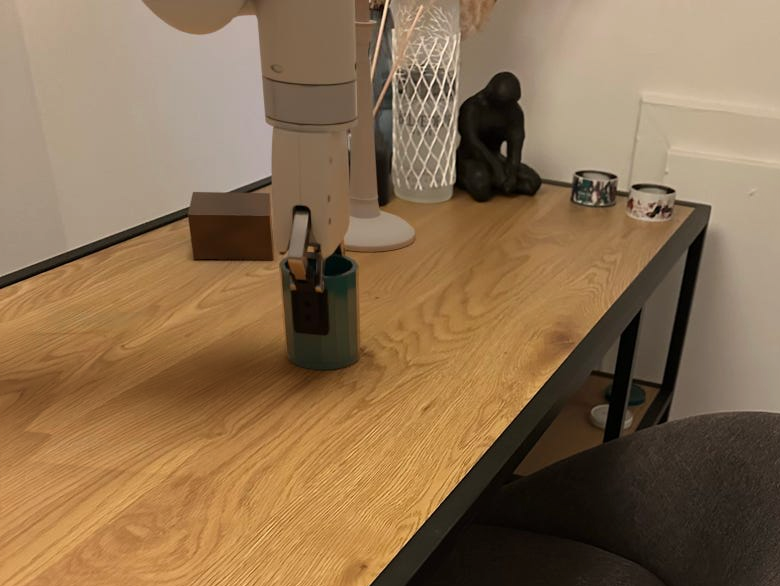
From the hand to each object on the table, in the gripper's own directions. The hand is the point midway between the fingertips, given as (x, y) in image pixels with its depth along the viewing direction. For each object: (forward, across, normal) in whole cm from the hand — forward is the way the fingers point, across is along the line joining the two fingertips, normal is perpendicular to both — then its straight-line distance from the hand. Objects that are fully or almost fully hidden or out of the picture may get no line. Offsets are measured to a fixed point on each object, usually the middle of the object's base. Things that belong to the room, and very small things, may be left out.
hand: (321, 315), depth 88 cm
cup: (+4, 0, 0) cm, 4 cm away
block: (+4, -28, -17) cm, 33 cm away
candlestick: (+4, -37, -3) cm, 37 cm away
